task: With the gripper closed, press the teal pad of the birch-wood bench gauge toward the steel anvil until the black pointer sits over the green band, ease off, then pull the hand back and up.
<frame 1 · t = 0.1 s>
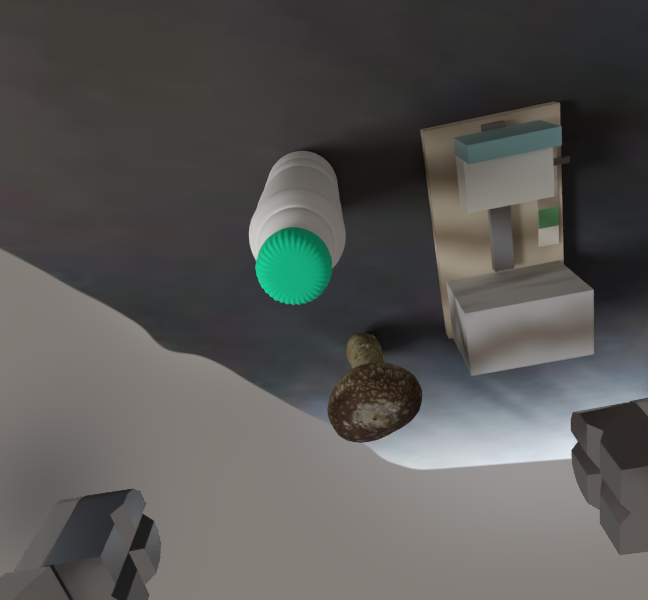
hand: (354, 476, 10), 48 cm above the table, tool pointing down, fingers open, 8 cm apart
mushroom: (363, 339, 63), on the table
block with teal panel: (520, 166, 50), point 6 cm above the table, slide at 0.0 cm
water bottle: (302, 184, 56), on the table
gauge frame: (494, 222, 58), on the table
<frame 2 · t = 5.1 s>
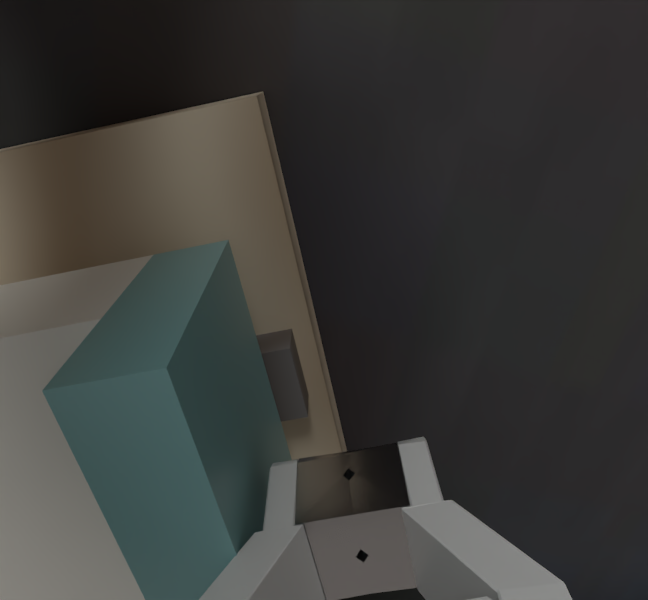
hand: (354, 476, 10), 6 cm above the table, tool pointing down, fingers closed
block with teal panel: (124, 546, 11), point 6 cm above the table, slide at 0.2 cm, touching gripper
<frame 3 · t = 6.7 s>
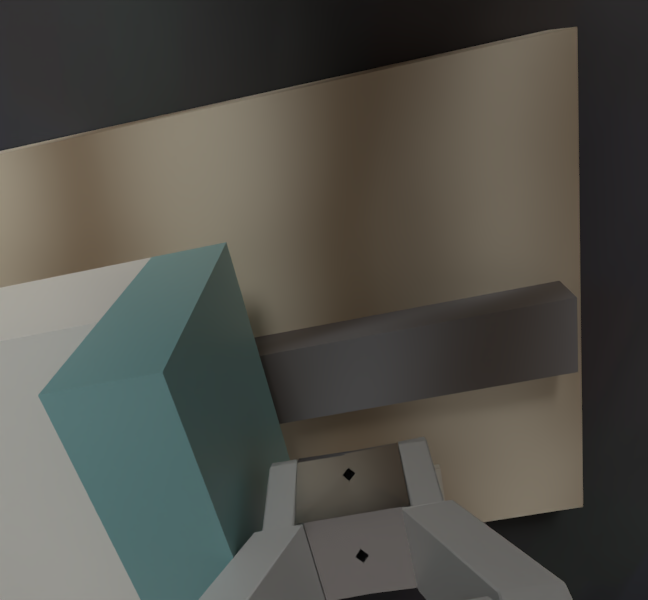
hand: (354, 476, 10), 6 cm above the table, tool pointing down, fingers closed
block with teal panel: (122, 549, 11), point 5 cm above the table, slide at 6.8 cm, touching gripper
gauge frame: (171, 361, 16), on the table
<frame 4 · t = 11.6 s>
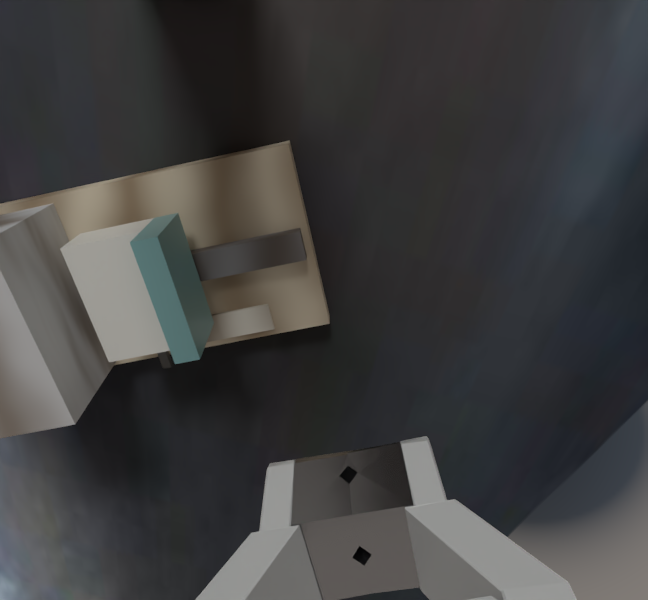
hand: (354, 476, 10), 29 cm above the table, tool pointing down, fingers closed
block with teal panel: (145, 312, 35), point 6 cm above the table, slide at 6.8 cm
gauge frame: (161, 264, 39), on the table
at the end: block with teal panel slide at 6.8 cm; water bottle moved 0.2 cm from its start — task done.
